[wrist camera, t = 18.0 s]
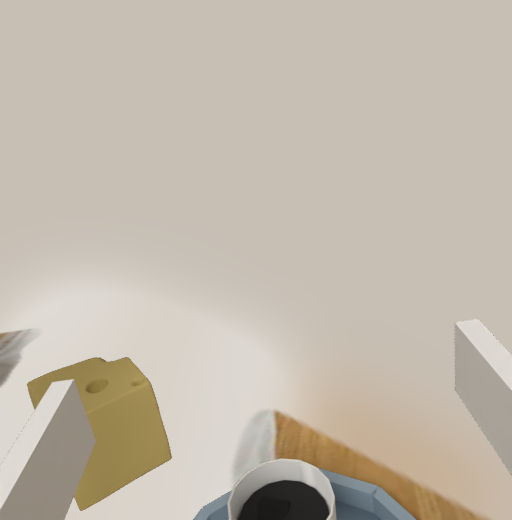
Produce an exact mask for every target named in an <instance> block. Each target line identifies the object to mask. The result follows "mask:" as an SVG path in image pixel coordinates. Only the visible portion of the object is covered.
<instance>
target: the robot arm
mask: <svg viewBox="0 0 512 520" xmlns="http://www.w3.org/2000/svg"><path fill="white" fill-rule="evenodd" d="M455 390H456V392H457V394H458V395H459V396H460V398H461V400H462V401H463V403H464V404H465V406H466V407H467V409H468V410H469V412H470V413H471V415H472V416H473V418H474V419H475V421H476V422H477V423H478V425H479V427H480V428H481V430H482V431H483V433H484V434H485V436H486V437H487V439H488V440H489V442H490V443H491V445H492V446H493V448H494V449H495V451H496V452H497V454H498V456H499V457H500V458H501V460H502V462H503V463H504V465H505V466H506V468H507V469H508V471H509V472H510V473H511V475H512V355H511V354H510V353H509V352H508V351H507V350H506V349H505V348H504V347H503V346H502V344H501V343H500V342H499V341H497V339H496V338H495V337H494V336H493V335H492V334H491V333H490V332H489V331H488V330H487V329H486V328H485V327H484V325H482V323H481V322H480V321H479V320H478V319H475V320H468V321H461V322H455ZM95 443H96V440H95V437H94V434H93V431H92V429H91V426H90V423H89V420H88V417H87V415H86V412H85V409H84V406H83V403H82V401H81V398H80V395H79V392H78V389H77V387H76V384H75V381H74V379H71V380H64V381H57V382H52V384H51V385H50V387H49V388H48V390H47V392H46V393H45V395H44V396H43V398H42V400H41V401H40V403H39V404H38V406H37V408H36V409H35V411H34V412H33V414H32V416H31V417H30V419H29V421H28V422H27V423H26V425H25V427H24V428H23V430H22V431H21V433H20V435H19V437H18V438H17V439H16V441H15V443H14V444H13V446H12V447H11V449H10V451H9V452H8V454H7V456H6V457H5V459H4V460H3V462H2V464H1V465H0V520H64V519H65V516H66V514H67V512H68V509H69V507H70V504H71V502H72V499H73V497H74V494H75V492H76V489H77V487H78V484H79V482H80V480H81V477H82V475H83V472H84V470H85V467H86V465H87V462H88V460H89V457H90V455H91V452H92V450H93V448H94V445H95Z"/></svg>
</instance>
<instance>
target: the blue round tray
mask: <svg viewBox="0 0 512 520" xmlns="http://www.w3.org/2000/svg"><path fill="white" fill-rule="evenodd" d="M319 470H320V471H321V472H322V473H323V474H324V475H325V476H326V477H327V478H328V479H329V481H330V484H331V487H332V490H333V493H334V496H335V507H336V520H416V519H415V518H414V517H413V516H412V515H411V514H410V513H408V512H407V511H406V510H405V509H404V508H403V507H402V506H401V505H400V504H398V503H397V502H396V501H395V500H394V499H393V498H392V497H391V496H390V495H388V494H387V493H386V492H385V491H384V490H383V489H382V488H381V487H379V488H378V486H377V485H374V484H370V483H367V482H364V481H360V480H357V479H354V478H350V477H347V476H344V475H340V474H337V473H334V472H331V471H327V470H324V469H321V468H319ZM231 492H232V490H231V491H230V492H228V493H226V494H224V495H223V496H221V497H219V498H218V499H216V500H214V501H213V502H211V503H209V504H207V505H206V506H204V507H203V509H201V510H200V511H199V513H198V514H197V515H196V517H195V518H194V519H193V520H229V516H228V504H227V503H228V500H229V497H230V495H231Z"/></svg>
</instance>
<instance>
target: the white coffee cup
mask: <svg viewBox="0 0 512 520" xmlns="http://www.w3.org/2000/svg"><path fill="white" fill-rule="evenodd" d="M227 504H228V516H229V520H336V507H335V496H334V493H333V490H332V487H331V484H330V481H329V479H328V478H327V477H326V476H325V475H324V474H323V473H322V472H321V471H320V470H319V469H318V468H317V467H315V466H313V465H310V464H308V463H306V462H303V461H301V460H293V459H277V460H273V461H268V462H264V463H261V464H259V465H258V466H256V467H254V468H253V469H251V470H249V471H247V472H246V473H245V474H244V475H243V476H242V477H241V478H240V480H239V481H238V482H237V483H236V484H235V485H234V486H233V489H232V492H231V495H230V497H229V500H228V503H227Z"/></svg>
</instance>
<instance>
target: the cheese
mask: <svg viewBox="0 0 512 520" xmlns="http://www.w3.org/2000/svg"><path fill="white" fill-rule="evenodd" d="M71 379H74V381H75V384H76V387H77V389H78V392H79V395H80V398H81V401H82V403H83V406H84V409H85V412H86V415H87V417H88V420H89V423H90V426H91V429H92V431H93V434H94V437H95V440H96V443H95V445H94V448H93V450H92V452H91V455H90V457H89V460H88V462H87V465H86V467H85V470H84V472H83V475H82V477H81V480H80V482H79V484H78V487H77V489H76V492H75V494H74V497H75V500H76V502H77V504H78V507H79V509H80V510H81V511H82V510H84V509H86V508H88V507H90V506H92V505H93V504H95V503H97V502H99V501H100V500H102V499H104V498H105V497H107V496H109V495H110V494H112V493H114V492H115V491H117V490H119V489H120V488H122V487H124V486H125V485H127V484H128V483H130V482H132V481H133V480H135V479H137V478H139V477H140V476H142V475H144V474H146V473H147V472H149V471H151V470H153V469H154V468H156V467H158V466H160V465H162V464H163V463H165V462H167V461H169V460H170V459H171V458H172V457H171V452H170V447H169V443H168V439H167V435H166V432H165V429H164V426H163V422H162V419H161V416H160V412H159V407H158V404H157V401H156V397H155V394H154V392H153V388H152V386H151V383H150V382H149V380H148V379H147V378H146V377H145V376H144V375H143V374H142V373H141V371H140V370H139V369H138V368H137V367H136V366H135V365H134V363H133V362H132V361H131V360H130V359H129V358H127V357H125V358H122V359H119V360H116V361H111V362H106V361H105V360H103V359H102V358H92V359H88V360H85V361H82V362H79V363H76V364H74V365H70V366H67V367H64V368H61V369H58V370H55V371H53V372H50V373H48V374H45V375H43V376H41V377H38V378H36V379H34V380H32V381H31V382H29V383H28V384H27V386H28V390H29V394H30V398H31V401H32V403H33V406H34V409H36V408H37V406H38V404H39V403H40V401H41V400H42V398H43V396H44V395H45V393H46V392H47V390H48V388H49V387H50V385H51V384H52V382H57V381H64V380H71Z"/></svg>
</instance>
